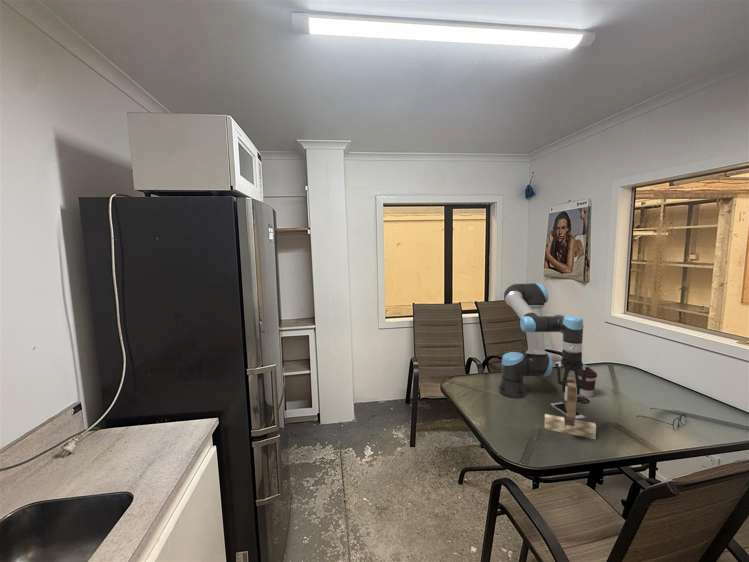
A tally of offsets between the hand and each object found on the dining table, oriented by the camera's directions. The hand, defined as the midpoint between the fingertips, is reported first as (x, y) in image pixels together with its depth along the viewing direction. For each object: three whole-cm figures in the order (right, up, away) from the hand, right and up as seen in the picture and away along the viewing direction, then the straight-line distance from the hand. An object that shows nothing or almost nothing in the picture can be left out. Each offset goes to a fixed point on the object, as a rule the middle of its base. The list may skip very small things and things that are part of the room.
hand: (570, 399), depth 143 cm
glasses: (+51, -14, +10) cm, 54 cm away
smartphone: (+11, -14, +20) cm, 27 cm away
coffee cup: (+32, -11, +36) cm, 49 cm away
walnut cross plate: (0, -6, +1) cm, 7 cm away
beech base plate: (+1, -16, +2) cm, 16 cm away
